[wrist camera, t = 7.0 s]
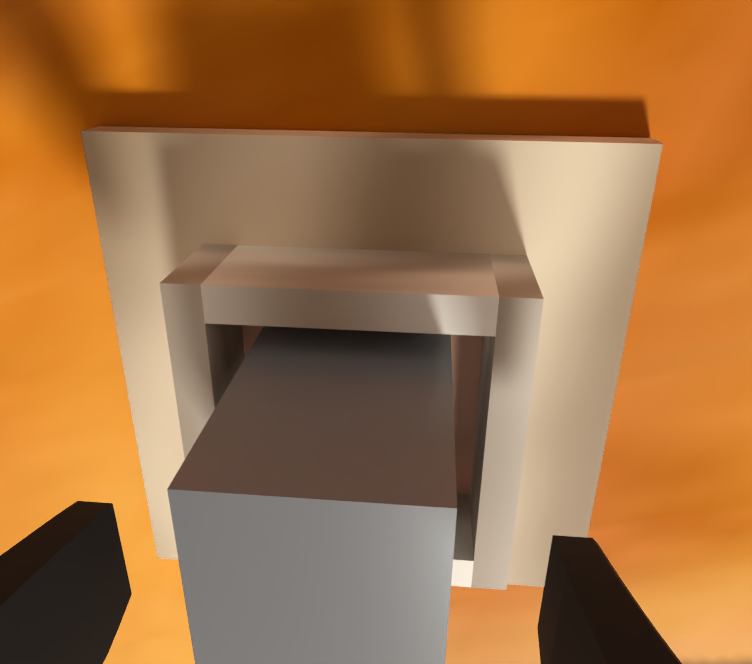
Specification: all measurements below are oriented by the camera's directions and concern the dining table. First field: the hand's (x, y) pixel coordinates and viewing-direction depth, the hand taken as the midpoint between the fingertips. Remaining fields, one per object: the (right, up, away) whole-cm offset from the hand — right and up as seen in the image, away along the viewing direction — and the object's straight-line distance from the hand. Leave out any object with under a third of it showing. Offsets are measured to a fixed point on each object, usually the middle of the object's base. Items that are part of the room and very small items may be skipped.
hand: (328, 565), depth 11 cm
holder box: (+1, +3, +6) cm, 7 cm away
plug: (0, +3, +5) cm, 6 cm away
